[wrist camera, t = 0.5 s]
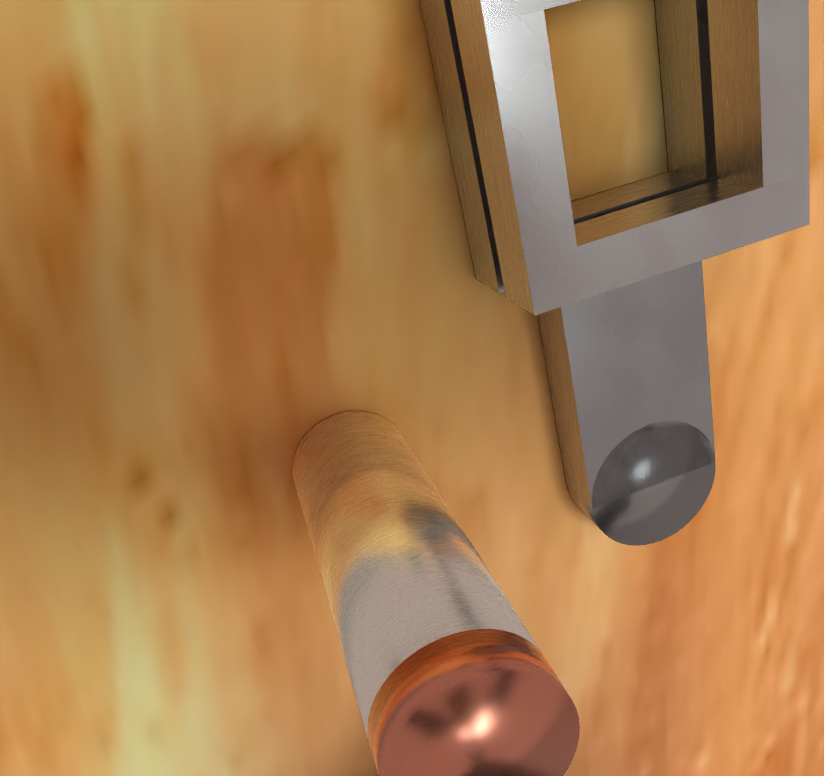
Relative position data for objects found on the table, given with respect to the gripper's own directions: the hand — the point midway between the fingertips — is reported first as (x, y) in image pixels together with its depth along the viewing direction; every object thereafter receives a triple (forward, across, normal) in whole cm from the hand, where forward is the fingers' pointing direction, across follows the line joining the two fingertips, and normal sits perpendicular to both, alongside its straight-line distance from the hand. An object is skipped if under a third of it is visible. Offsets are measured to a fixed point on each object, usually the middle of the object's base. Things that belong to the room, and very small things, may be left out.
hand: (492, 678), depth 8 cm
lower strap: (+12, -8, 0) cm, 15 cm away
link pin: (+12, 0, +3) cm, 13 cm away
